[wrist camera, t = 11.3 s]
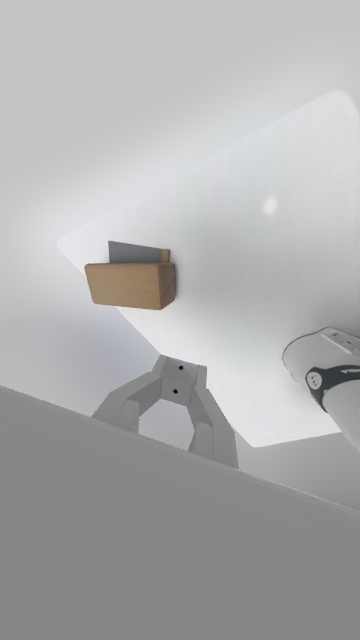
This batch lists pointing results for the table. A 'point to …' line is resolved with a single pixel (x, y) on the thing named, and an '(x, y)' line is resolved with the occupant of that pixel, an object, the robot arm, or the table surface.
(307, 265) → the table surface
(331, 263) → the table surface
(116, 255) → the mat
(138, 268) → the wooden block
